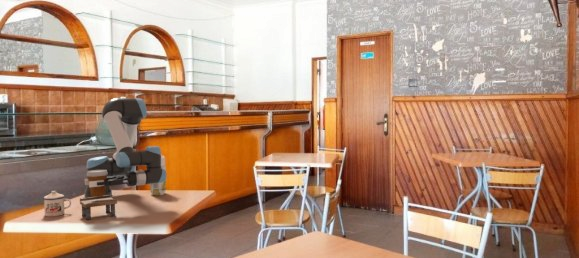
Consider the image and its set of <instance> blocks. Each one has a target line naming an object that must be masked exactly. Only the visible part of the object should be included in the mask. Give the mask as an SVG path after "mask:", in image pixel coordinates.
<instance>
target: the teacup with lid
mask: <svg viewBox="0 0 579 258" xmlns="http://www.w3.org/2000/svg"><path fill="white" fill-rule="evenodd" d="M65 201H67V202H69V203H68V204H69V205H68V206H66V207H65ZM43 205H44V207H43V208H44V216H45V217H58V216H59V217H60V216H62V215H64V214H65V210H67V209H69V208H71V205H72V201H71V199H69V198H65V195H64V194H62V193H58V192H57V190H51V193H49V194H48V195H45V196H44V197H43Z"/></svg>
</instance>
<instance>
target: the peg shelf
mask: <svg viewBox="0 0 579 258" xmlns="http://www.w3.org/2000/svg"><path fill="white" fill-rule="evenodd" d="M79 204H80V205H81V216H82V217H85V218H86V219H85V220H86V221H91V220H92V217H91V216H92V212H91V208H95V207H96V208H97V207H103V206H105V213H106V214H109V213H110V217H116V205H118V202H117V200H116V199H114V198H113V197H112V195H111V196H110V195H104V196H99V197H88V198H85V197H81V198H79Z"/></svg>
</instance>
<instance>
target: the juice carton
mask: <svg viewBox="0 0 579 258" xmlns="http://www.w3.org/2000/svg"><path fill="white" fill-rule="evenodd" d="M161 168H164V169H165V170H166V168H167V167H166V157H165V155H163V154H161ZM166 171H167V170H166ZM149 187H150V188H149V189H150V195H151V196H162V195H165V194H166V191H167V190H166V189H167V179H166V180H165V182H161V183H155V184H149Z"/></svg>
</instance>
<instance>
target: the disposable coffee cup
mask: <svg viewBox="0 0 579 258" xmlns="http://www.w3.org/2000/svg"><path fill="white" fill-rule="evenodd" d="M107 174H108V172H107V170H91V171H88V172H87V171H86V177H87V176H88V182H89V181H99V180H104V179H106V180H107ZM89 188H90V193H91V196H92V197H99V196H104V195H105V190H106V186H98V187H89Z"/></svg>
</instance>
